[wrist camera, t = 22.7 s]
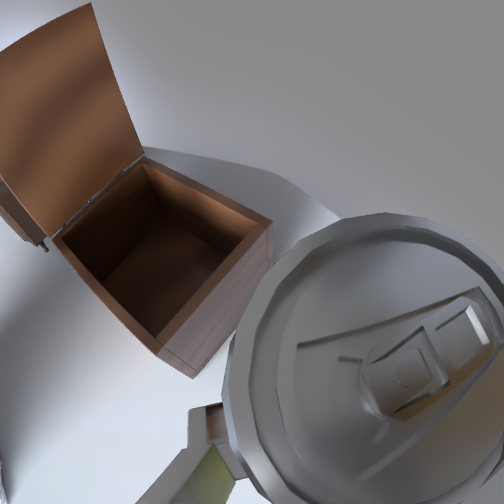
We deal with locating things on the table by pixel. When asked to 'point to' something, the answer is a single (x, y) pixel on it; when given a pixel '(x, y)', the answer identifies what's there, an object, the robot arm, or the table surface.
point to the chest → (170, 260)
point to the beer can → (369, 365)
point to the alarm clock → (20, 218)
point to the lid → (61, 119)
